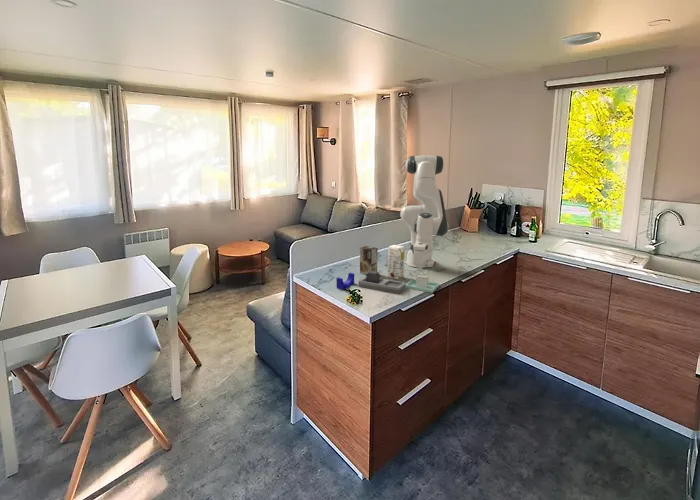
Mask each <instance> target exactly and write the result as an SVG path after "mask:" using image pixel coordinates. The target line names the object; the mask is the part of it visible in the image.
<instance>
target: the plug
mask: <svg viewBox="0 0 700 500" xmlns="http://www.w3.org/2000/svg"><path fill="white" fill-rule="evenodd" d="M415 280H416V285H415V287H421V288H427V287H428V286H429V282H430V277H429V275H424V274H423V275H422V274H418V275H417V276H416V278H415Z"/></svg>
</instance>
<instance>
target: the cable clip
mask: <svg viewBox="0 0 700 500" xmlns="http://www.w3.org/2000/svg"><path fill="white" fill-rule="evenodd" d="M335 279H336V289H338V290H341V291H343V290H346V289H348V288H350V287H351V286H352V285H354V284H355V273H353V272H348V275H347V278H346V280H345V281H344V280H343V277H336V278H335Z"/></svg>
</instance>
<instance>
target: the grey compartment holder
mask: <svg viewBox="0 0 700 500" xmlns="http://www.w3.org/2000/svg"><path fill="white" fill-rule="evenodd" d="M365 275H366V276H364V277H362V278H361V279H359V280H358V287H360V288H366V289H372V290H375V291H376V290H377V291H383V292H387V293H391V294H397V295H399V294H401V293H402V292H403V291H404V290H405V289H407V288H406V284H407V282H405V281H398V280H397V281H396V280H392V279H385V278H381V277H380V276H381V275H380V272H379V271H377V272H375V271H369V272H368V273H367V274H365Z"/></svg>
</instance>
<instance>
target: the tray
mask: <svg viewBox="0 0 700 500" xmlns="http://www.w3.org/2000/svg"><path fill="white" fill-rule="evenodd" d="M415 285H416V278H415V279H414V278H411V280H409V281H408V282H406V288H405V289H411V290H415V291H421V292H427V293H431V294H432V293H434V291H436V290H437V289H438V288H439V287H440V283H439V282H432V281H429V286H428V287H427V288H421V287H415Z"/></svg>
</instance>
